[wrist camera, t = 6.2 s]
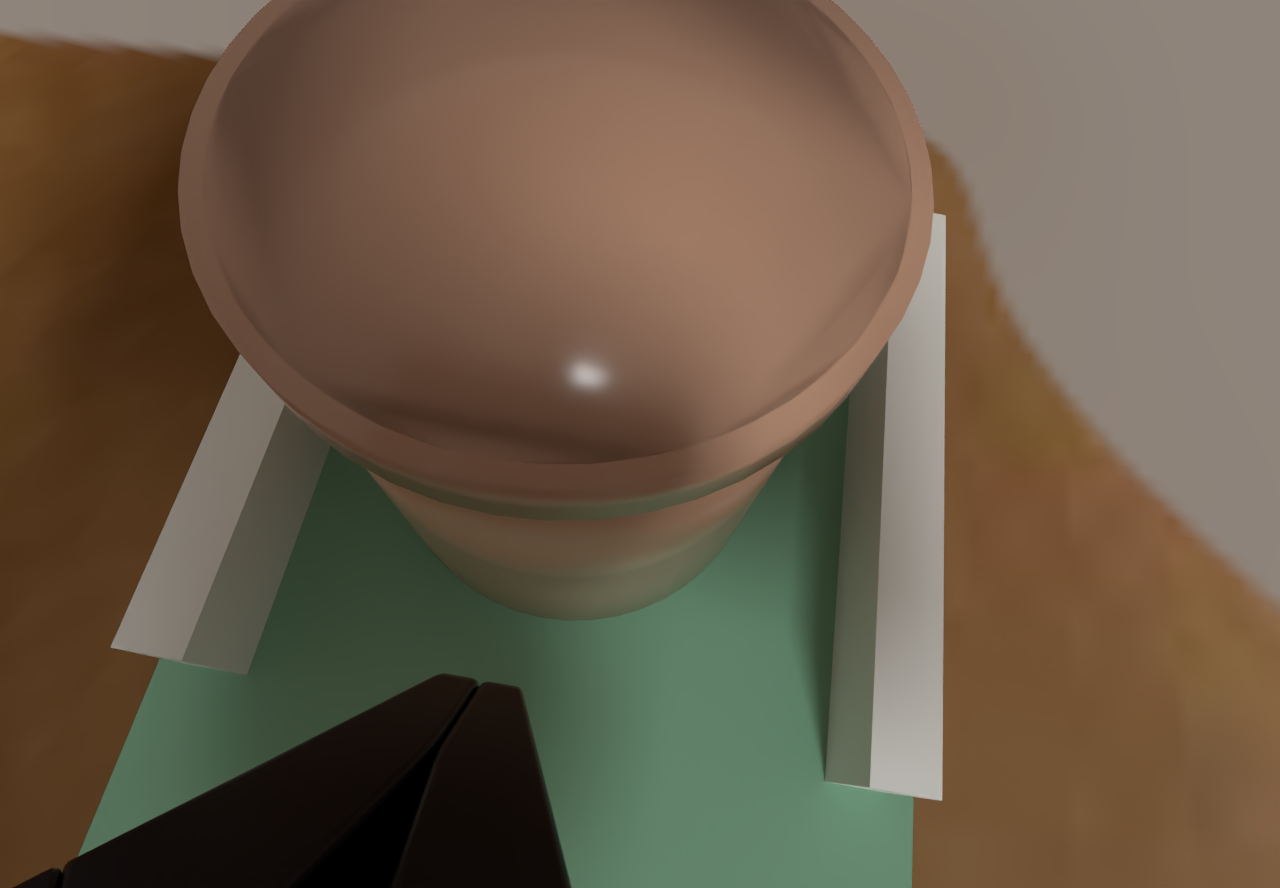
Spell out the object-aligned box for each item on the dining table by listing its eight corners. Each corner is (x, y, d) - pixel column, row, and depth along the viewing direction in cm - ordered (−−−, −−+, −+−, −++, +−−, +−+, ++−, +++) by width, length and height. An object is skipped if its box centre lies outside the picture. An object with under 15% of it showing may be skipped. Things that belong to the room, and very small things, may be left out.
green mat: (881, 1770, 10) (892, 1811, 10) (-197, 1561, 10) (-226, 1590, 10) (917, 271, 20) (923, 261, 19) (369, 172, 20) (365, 162, 19)
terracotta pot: (520, 720, 14) (424, 679, 6) (321, 396, 17) (58, 51, 8) (839, 488, 17) (1085, 231, 8) (625, 233, 19) (652, -165, 11)
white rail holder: (885, 792, 14) (942, 800, 12) (187, 664, 14) (110, 647, 12) (903, 280, 19) (945, 215, 17) (377, 186, 19) (348, 109, 17)
